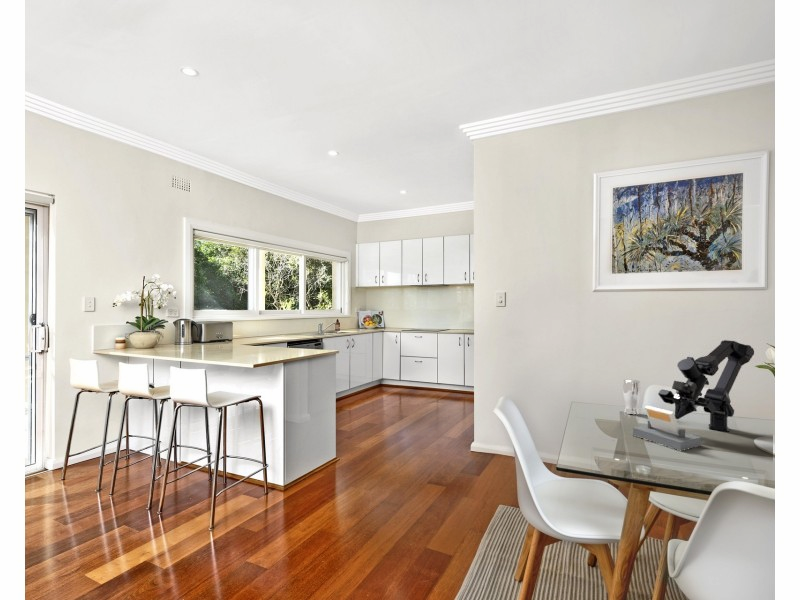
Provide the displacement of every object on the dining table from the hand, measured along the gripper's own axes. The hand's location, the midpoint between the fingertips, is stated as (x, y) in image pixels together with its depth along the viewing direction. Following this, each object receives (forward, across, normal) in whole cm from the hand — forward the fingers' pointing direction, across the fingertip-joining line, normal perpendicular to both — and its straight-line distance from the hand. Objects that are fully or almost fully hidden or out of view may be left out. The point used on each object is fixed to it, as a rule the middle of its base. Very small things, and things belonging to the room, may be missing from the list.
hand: (676, 418), depth 163 cm
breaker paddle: (+7, 0, -2) cm, 7 cm away
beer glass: (-5, -30, +17) cm, 35 cm away
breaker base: (+10, 0, +1) cm, 10 cm away
